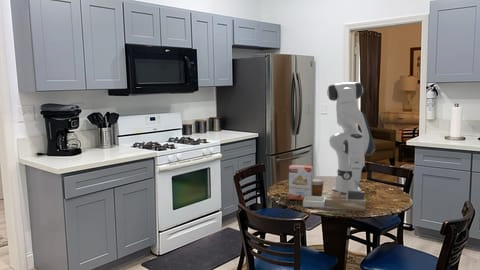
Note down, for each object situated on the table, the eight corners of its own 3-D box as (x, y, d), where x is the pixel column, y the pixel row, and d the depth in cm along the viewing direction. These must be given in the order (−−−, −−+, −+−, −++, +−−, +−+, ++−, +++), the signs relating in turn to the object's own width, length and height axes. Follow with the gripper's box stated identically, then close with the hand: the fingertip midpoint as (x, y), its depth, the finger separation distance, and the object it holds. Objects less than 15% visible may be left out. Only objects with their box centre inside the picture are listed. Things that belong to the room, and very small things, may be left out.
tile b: (332, 197, 234) (332, 194, 234) (340, 197, 233) (340, 194, 232) (331, 199, 230) (332, 196, 229) (340, 199, 228) (340, 196, 228)
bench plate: (326, 202, 241) (326, 194, 241) (364, 204, 235) (364, 196, 235) (325, 208, 230) (325, 199, 229) (365, 210, 224) (365, 202, 223)
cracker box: (288, 199, 249) (288, 166, 246) (291, 196, 254) (291, 164, 252) (311, 201, 243) (311, 167, 241) (313, 198, 249) (313, 165, 246)
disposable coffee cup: (316, 201, 243) (316, 182, 241) (305, 198, 250) (305, 179, 249) (327, 199, 248) (327, 180, 246) (316, 195, 256) (316, 177, 254)
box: (305, 200, 245) (305, 195, 244) (325, 202, 242) (325, 196, 241) (303, 206, 233) (303, 200, 233) (324, 208, 230) (324, 202, 230)
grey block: (346, 195, 238) (346, 188, 237) (364, 196, 235) (364, 189, 234) (345, 200, 226) (345, 193, 226) (364, 201, 223) (364, 194, 223)
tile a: (332, 195, 239) (332, 191, 238) (340, 195, 237) (340, 192, 237) (332, 197, 234) (332, 193, 234) (340, 197, 233) (340, 194, 233)
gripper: (351, 159, 238) (351, 182, 240) (350, 165, 219) (350, 190, 220) (362, 159, 237) (362, 183, 238) (362, 166, 217) (362, 191, 218)
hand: (356, 186), depth 229 cm, fingers open, 8 cm apart
